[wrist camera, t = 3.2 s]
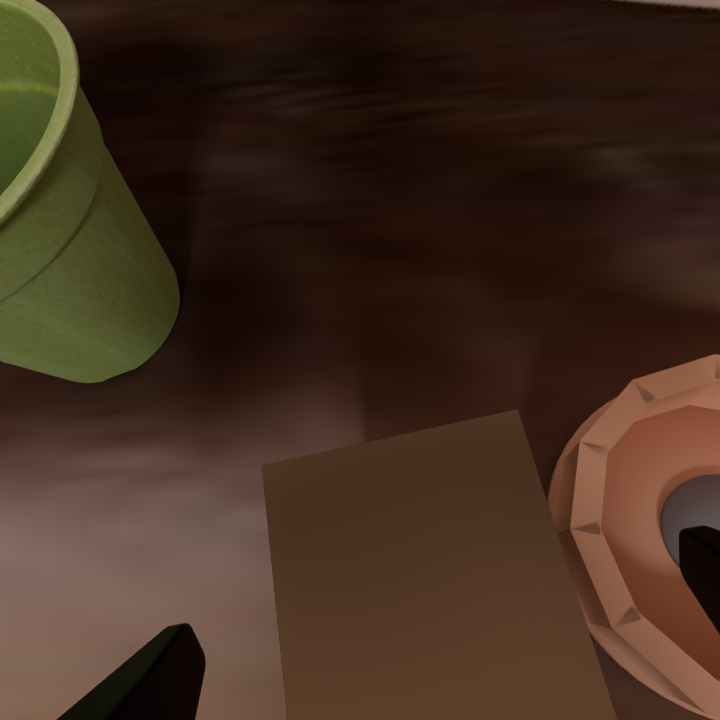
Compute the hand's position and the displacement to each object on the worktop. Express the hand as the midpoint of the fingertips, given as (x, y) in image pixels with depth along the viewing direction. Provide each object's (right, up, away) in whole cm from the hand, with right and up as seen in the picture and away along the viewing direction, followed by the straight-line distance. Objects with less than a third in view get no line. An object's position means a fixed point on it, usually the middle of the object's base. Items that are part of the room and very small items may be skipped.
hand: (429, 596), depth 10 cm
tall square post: (+2, -3, +9) cm, 9 cm away
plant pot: (-13, +6, +15) cm, 21 cm away
